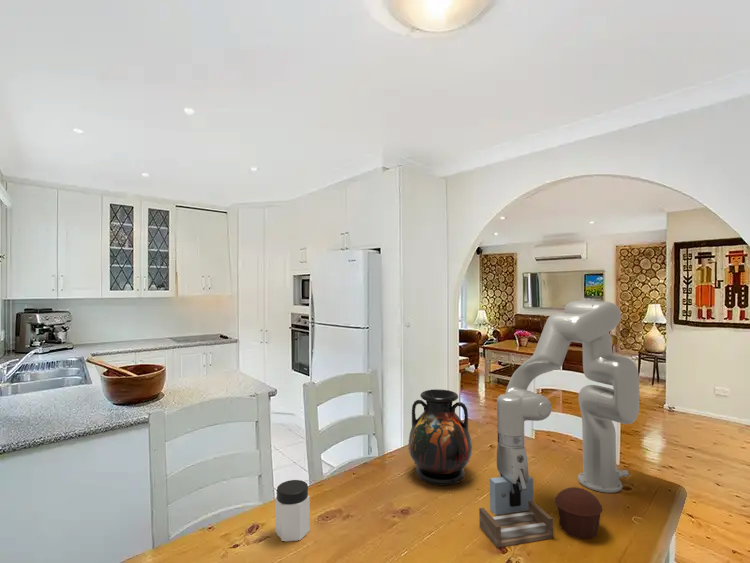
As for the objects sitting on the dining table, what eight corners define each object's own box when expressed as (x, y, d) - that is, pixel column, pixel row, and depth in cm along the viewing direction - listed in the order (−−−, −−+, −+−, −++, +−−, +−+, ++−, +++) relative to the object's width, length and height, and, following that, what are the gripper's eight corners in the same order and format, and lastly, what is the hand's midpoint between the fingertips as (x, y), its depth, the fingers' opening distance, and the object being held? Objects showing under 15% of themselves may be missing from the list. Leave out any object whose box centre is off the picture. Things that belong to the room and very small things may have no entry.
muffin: (575, 545, 101) (575, 505, 101) (545, 521, 112) (544, 484, 112) (613, 537, 105) (613, 498, 105) (580, 514, 115) (580, 478, 115)
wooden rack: (532, 518, 113) (532, 500, 113) (553, 538, 104) (553, 518, 104) (479, 526, 110) (479, 508, 110) (496, 547, 101) (496, 527, 101)
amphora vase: (403, 487, 132) (402, 400, 132) (413, 459, 153) (412, 384, 153) (472, 494, 127) (471, 404, 127) (472, 465, 147) (471, 387, 148)
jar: (310, 522, 113) (310, 478, 113) (308, 540, 104) (308, 493, 105) (277, 524, 112) (277, 480, 112) (273, 543, 104) (272, 495, 104)
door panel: (527, 504, 121) (526, 473, 121) (534, 510, 117) (533, 479, 117) (490, 509, 118) (489, 478, 118) (496, 516, 115) (495, 483, 115)
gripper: (539, 448, 111) (540, 516, 111) (507, 427, 127) (508, 487, 127) (514, 450, 109) (515, 519, 109) (485, 430, 125) (486, 490, 125)
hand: (511, 501), depth 118 cm, fingers closed on door panel, 3 cm apart
